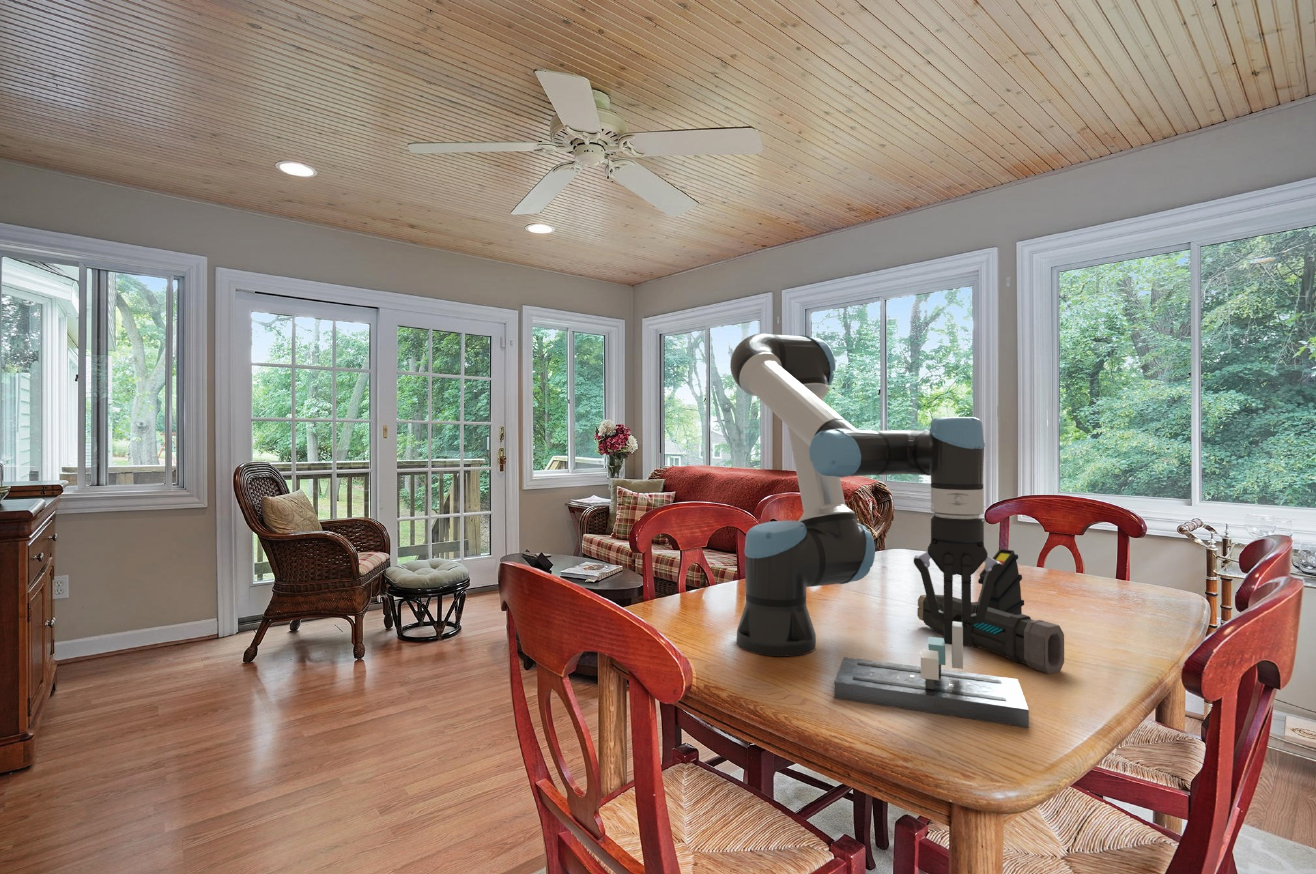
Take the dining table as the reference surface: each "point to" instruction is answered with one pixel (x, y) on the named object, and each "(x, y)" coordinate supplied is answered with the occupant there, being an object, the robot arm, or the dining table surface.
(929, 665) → the fader near
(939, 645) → the fader far
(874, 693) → the console
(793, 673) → the dining table surface
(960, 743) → the dining table surface
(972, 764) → the dining table surface
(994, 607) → the magazine
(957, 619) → the tube
